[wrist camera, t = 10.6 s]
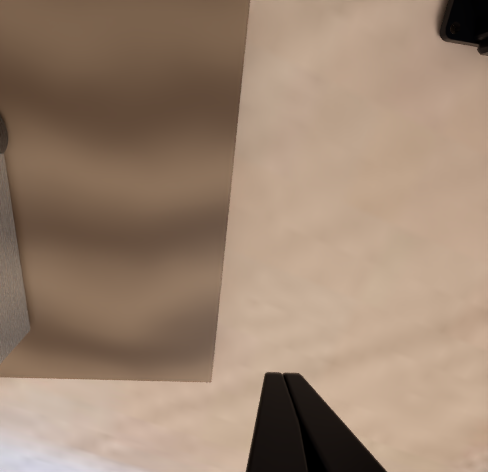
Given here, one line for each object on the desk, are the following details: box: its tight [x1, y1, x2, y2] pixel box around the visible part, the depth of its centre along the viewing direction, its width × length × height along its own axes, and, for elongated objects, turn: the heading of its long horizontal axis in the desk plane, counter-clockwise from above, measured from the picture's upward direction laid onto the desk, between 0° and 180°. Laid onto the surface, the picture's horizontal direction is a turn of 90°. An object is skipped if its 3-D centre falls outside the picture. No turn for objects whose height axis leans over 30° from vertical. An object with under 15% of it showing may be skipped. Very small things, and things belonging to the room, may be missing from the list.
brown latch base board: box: [0, 0, 250, 382], centre depth 15 cm, size 22×18×5 cm
